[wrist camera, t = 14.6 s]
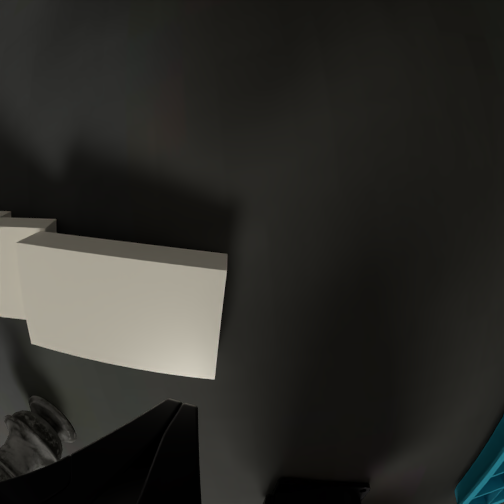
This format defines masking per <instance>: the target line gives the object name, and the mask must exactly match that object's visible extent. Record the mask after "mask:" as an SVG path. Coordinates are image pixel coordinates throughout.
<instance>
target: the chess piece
mask: <svg viewBox="0 0 504 504" xmlns="http://www.w3.org/2000/svg"><path fill="white" fill-rule="evenodd" d="M29 405H30V409H31V412H30V411H19V412H16V413H14V414H13V415H12V416H11V415H7V416H5V418H4V422H5V425H6V427H7V429H8V431H9V436H8V438H7V440H6V442H5V444H4V445H3V446H2V447H1V448H0V481H3V480H7V479H10V478H14V477H17V476H20V475H23V474H27V473H29V472H32V471H33V470H35V469H36V468H38V467H39V466H41V465H43V466H48V465H50V464H52V463H54V462H56V461H58V460H60V458H61V455H62V444H61V441H64V442H69V443H71V442H74V441H75V439H76V433H75V431H74V429H73V427H72V425H71V424H70V422H69V421H68V420H67V418H66V417H65V416H64V415H63V414H62V413H61V412H60V411H59V410H58V409H57V408H56V407H55V406H54V405H52V404H51V403H50V402H48V401H47V400H45V399H43V398H42V397H39V396H31V397H30V398H29Z"/></svg>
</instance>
